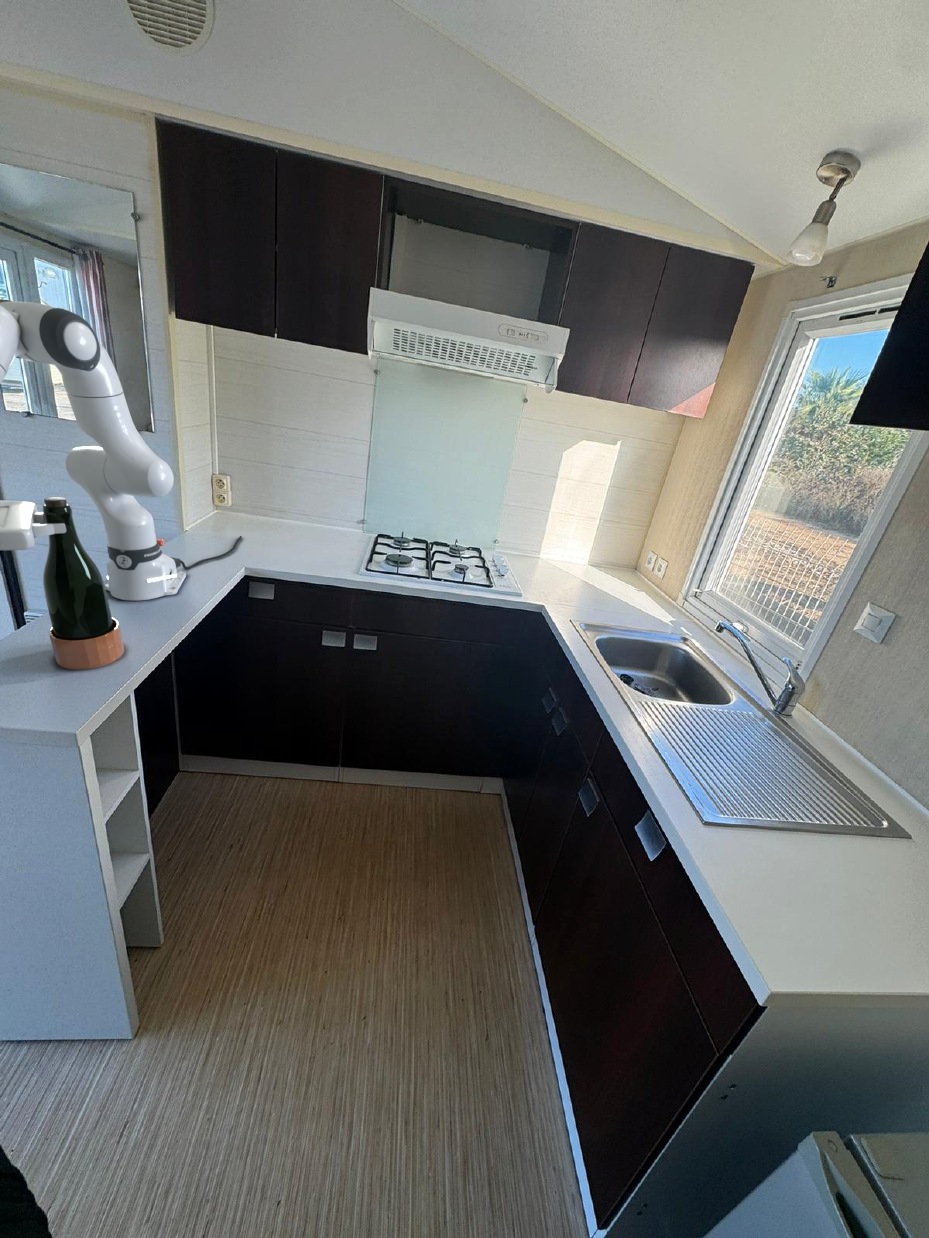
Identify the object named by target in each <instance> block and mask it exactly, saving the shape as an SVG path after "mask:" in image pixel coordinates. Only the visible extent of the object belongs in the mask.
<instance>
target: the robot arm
mask: <svg viewBox="0 0 929 1238" xmlns="http://www.w3.org/2000/svg"><path fill="white" fill-rule="evenodd" d="M16 359H21V360H25V361H28V362H33V363H36V364H40V365H48V366H49V365H50V366H55V368H57V370H58V372H60V376H61V379H62V384H63V386H64V389H65V392H66V395H67V398H68V401H69V403H70V406H71V409H72V412H73V416H74V418H75V421H76V423H77V426H78V427H79V428H80V430H81V431H82V432H83V433H85V434H86V435H87V436H89V438H91V439H93V440H94V441H95V442H96V443H97V444H98V445H99V446H98V445H89V446H88V445H86V446H77V447H73V448H71V450H70V451H69V452H68V453H67V456H66V458H65V470H66V473H67V474H68V476H69V477H70V479H71V480H72V481H73V482H75V483H76V484H77V485H79V487H81V488H82V489H83V490H84V492H86V493H87V495H88V496H89V497H90V499H91V500H92V501H93V503H94V505H95V507H96V509H98V511H99V513H100V515H101V518H102V521H103V525H104V529H105V533H106V538H107V542H108V543H107V545H106V546H107V547H106V549H107V550H106V551H107V554H108V558H109V559H108V560H107V561H106V579H107V583H104V586H105V589H106V591H108V592H109V593H110V595H111V597H113V598H115V599H118V600H123V601H146V600H147V601H148V600H153V599H157V598H160V597H164V596H165V597H166V596H172V595H176V594H177V593H178V591H179V590H180V588H181V586H182V584H183V582H184V581H185V579H186V577H187V574H186V572H184V571H181V570H179V569H178V568H179V567H181V566H182V568H183V569H185V570H189V569H193V568H195V567H196V566H198V565H200V564H202V563H205V562H208V561H212V560H217V559H220V558H222V557H225V556H227V555H229V554H231V553H232V552H234V550H235V549H236V547H237V545H238V544H239V542H240V540H241V539H242V538H243V536H242V535H240V536H239V537H238V539H236V541H235V542H234V544H233V546H232V548H231V549H229V550H228V551H226V552H223V553H222V554H220V555H216V556H212V557H207V558H204V559H200V560H198V561H196V562H195V563H193V564H191V565H190V566H186V564H185V562H184V561H183V560H182V559H181V558H179V557H178V558H177V557H173V556H168V555H167V554H165V553H164V552H163V551H162V548H161V547H164V546H165V540H164V539H162V538H160V539H159V538H157V536H156V535H157V534H156V528H155V523H154V518H153V515H152V514H151V512H149V510H147V509H146V508H145V507H143V506H142V505H141V504H140V503H139V502H138V501H137V499H136V498H135V497H138V498H143V499H144V498H145V499H148V498H163V497H165V496H167V495H168V494H169V493H170V492H171V491H172V489H173V487H174V482H175V477H174V476H175V475H174V472H173V470H172V468H171V466H170V465H169V464H168V462H166V461H165V460H163V459H162V458H161V457H160V456H158V455H157V454H156V453H155V452H154V451H153V450H152V449H151V448H150V446H149V445H148V444H147V443H146V441H145V440H144V439H143V437H142V436H141V434H140V432H139V431H138V430H137V427H136V425H135V423H134V421H133V419H132V415H131V413H130V408H129V406H128V403H127V400H126V396H125V393H124V389H123V387H122V382H121V381H120V377H119V374H118V372H117V370H116V368H115V365H114V363H113V361H112V358H111V357H110V355H109V353H108V351H107V349H106V348H105V347H104V346H103V345H102V344H100V341H99V339H98V336H97V334H96V332H95V330H94V329H93V327H92V326H91V324H89V322H87V320H86V319H84V318H83V317H82V316H80V315H79V314H76V313H75V312H73V311H70V310H67V309H65V308H61V307H53V306H50V305H48V304H47V305H46V304H43V303H38V302H33V301H13V300H9V299H0V385H1V384H2V383H3V381H4V379H5V378H6V376H7V373H8V372H9V370H10V368H11V367H12V366H11V365H12V363H13V361H14V360H16ZM55 533H66V525H65V523H63V522H53V524H47V523H46V519H45V515H44V513H43V511H40V512H39V511H38V507H37V504H36V503H34V502H31V501H25V500H3V499H1V500H0V551H27V550H31V549H34V548H35V546H36V539H37V537H38V538H39V537H40V538H41V537H48V536H49V535H52V534H55Z"/></svg>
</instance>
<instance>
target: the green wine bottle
mask: <svg viewBox="0 0 929 1238" xmlns="http://www.w3.org/2000/svg"><path fill="white" fill-rule="evenodd" d="M43 503H44V504H43V505H42V512H43V513H44V515H45V519H46V523H47V524H53V522H63V523H65V525H66V533H55V534H52V535H48V552H47V555H46V560H45V564H44V569H43V573H42V586H43V591H44V597H45V601H46V607H47V612H48V615H49V619H50V623H51V627H52V628H53V632H54V636H55V638H58V639H62V640H71V641H75V640H86V639H92V638H96V637H99V636H103V635H105V634H107V633H109V632H111V631H112V630H113V629H114V625H113V620H112V617H113V616H112V611H111V607H110V603H109V599H108V594H107V590H106V589H105V582H104V579H103V576H102V574H101V572H100V570H99V567H98V566H97V565H96V563H95V562H94V561H93V559H92V558H91V557H90V555H89V554H88V553H87V551H86V549H85V548H84V546H83V544H82V542H81V540H80V538H79V535H78V532H77V529H76V525H75V521H74V517H73V509H72V507H71V505H70V504H68V501H67V499H66V498H65V497H61V496H50V497H46V498H44V500H43Z"/></svg>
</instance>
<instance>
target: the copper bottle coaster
mask: <svg viewBox="0 0 929 1238" xmlns="http://www.w3.org/2000/svg"><path fill="white" fill-rule="evenodd" d="M112 620H113V625H114V629H113V630H112V631H111V632H109V633H107V634H105V635H103V636H99V637H96V638H92V639H86V640H75V641H71V640H62V639H58V638H55V636H54V632H53V628H52V626H51V627H50V628H49V630H48V635H49V639H50V644H51V646H52V650H53V654H54V657H55V661H56V664H57V665H58V666H60V667H62V668H65V669H67V670H76V671H77V670H90V669H96V668H99V667H104V666H106V665H109V664H112V663H114V662H115V661H117V660H119V659H120V658H121V657H122V656H123V655H124V652H125V646H124V641H123V635H122V631H121V626H120V623H119V621H118V619H116V618H115V617H113V616H112Z"/></svg>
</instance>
